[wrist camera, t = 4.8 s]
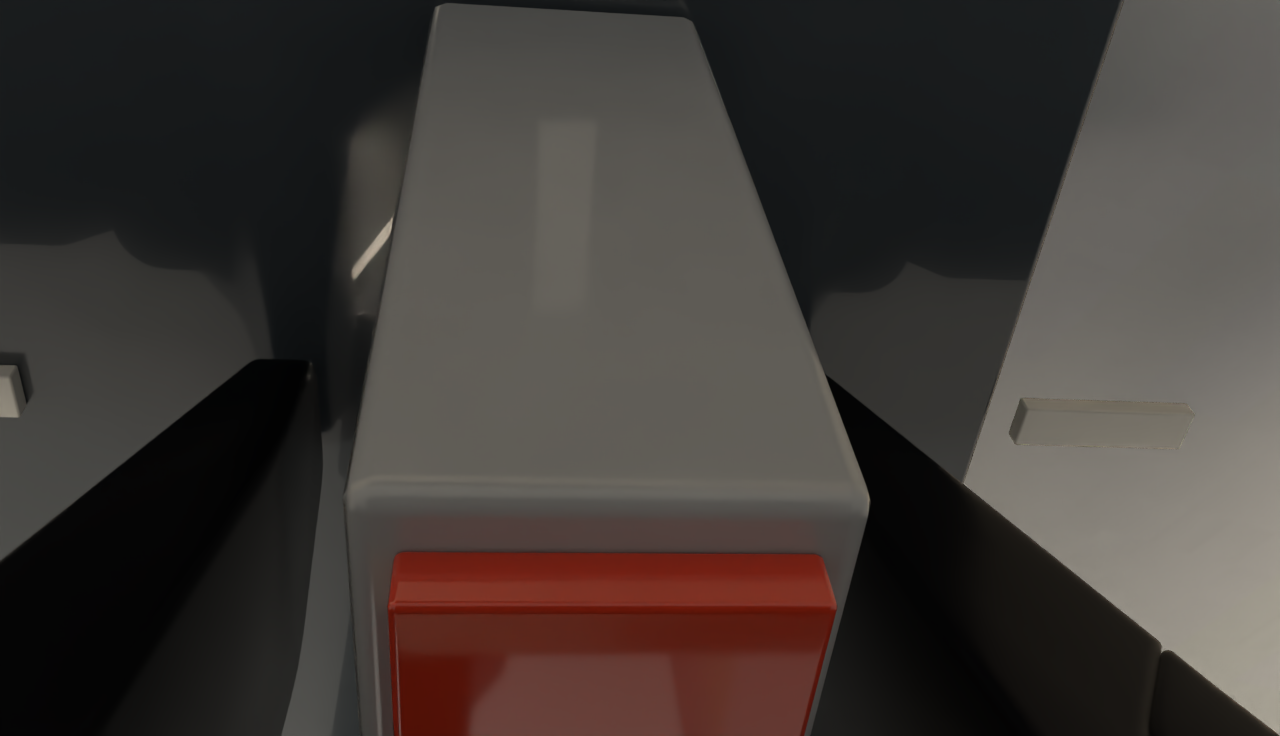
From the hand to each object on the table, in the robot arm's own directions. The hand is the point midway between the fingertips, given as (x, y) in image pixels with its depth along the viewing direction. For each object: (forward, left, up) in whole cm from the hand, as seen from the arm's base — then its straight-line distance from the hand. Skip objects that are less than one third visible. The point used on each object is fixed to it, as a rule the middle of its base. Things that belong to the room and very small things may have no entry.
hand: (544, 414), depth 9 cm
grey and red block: (0, 0, 0) cm, 0 cm away
